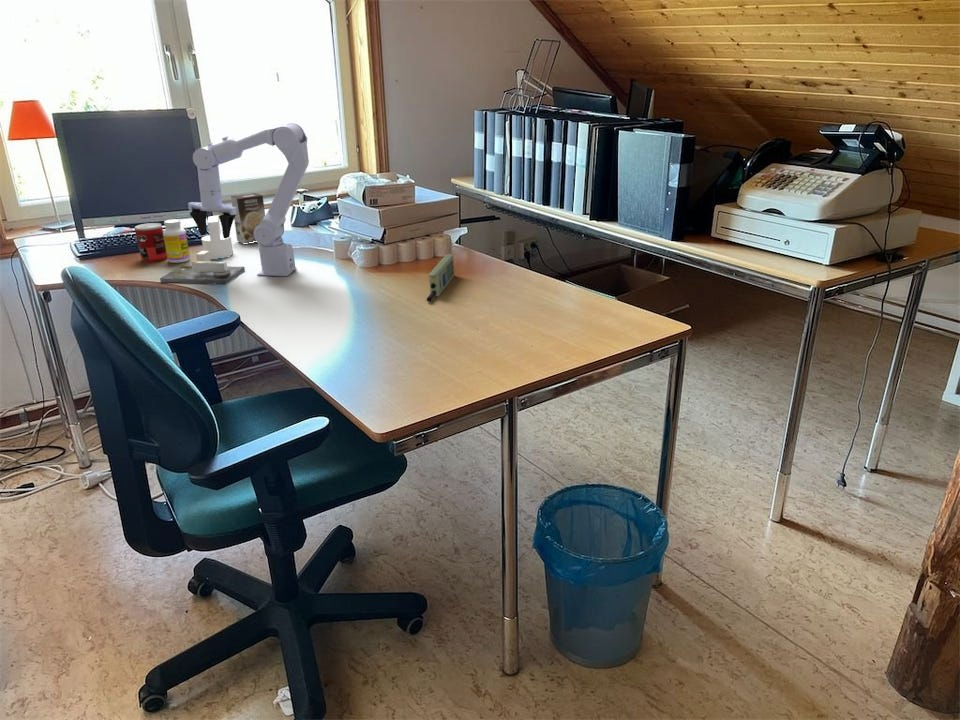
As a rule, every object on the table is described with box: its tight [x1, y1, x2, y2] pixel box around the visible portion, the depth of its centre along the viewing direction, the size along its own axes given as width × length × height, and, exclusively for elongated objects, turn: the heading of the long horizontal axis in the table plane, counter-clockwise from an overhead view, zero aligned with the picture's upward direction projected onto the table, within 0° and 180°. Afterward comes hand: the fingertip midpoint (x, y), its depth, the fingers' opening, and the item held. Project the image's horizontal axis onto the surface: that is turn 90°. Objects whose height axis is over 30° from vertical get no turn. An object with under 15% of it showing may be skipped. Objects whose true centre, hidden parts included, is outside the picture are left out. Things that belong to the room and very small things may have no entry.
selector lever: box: [191, 260, 231, 276], centre depth 204 cm, size 11×5×4 cm, turn 83°
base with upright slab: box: [201, 215, 234, 260], centre depth 226 cm, size 9×9×12 cm
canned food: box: [134, 222, 168, 263], centre depth 223 cm, size 8×8×11 cm
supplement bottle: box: [163, 219, 191, 264], centre depth 221 cm, size 7×7×13 cm
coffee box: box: [230, 192, 266, 244], centre depth 241 cm, size 9×6×16 cm
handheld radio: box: [426, 253, 455, 303], centre depth 193 cm, size 7×3×25 cm
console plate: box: [159, 265, 246, 285], centre depth 208 cm, size 20×13×1 cm, turn 83°
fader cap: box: [195, 250, 212, 262], centre depth 211 cm, size 2×4×4 cm, turn 173°
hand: (215, 236), depth 207 cm, fingers open, 7 cm apart
